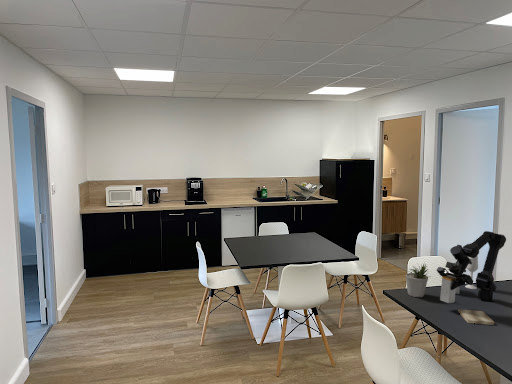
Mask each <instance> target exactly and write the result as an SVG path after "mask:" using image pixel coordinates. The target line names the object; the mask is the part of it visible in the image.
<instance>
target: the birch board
mask: <svg viewBox="0 0 512 384" xmlns="http://www.w3.org/2000/svg"><path fill="white" fill-rule="evenodd" d="M458 312H459V313H460V314H459V313H458ZM457 313H458V314H459V315H460V316H461V317H462V319H464V320H465V322H466V323H467V324H474V323H475V324H474V325H476V324H477V325H492V326H494V325H495V321H494V320H493V319H492V318H490V317H489V316H488V315H487V313H486V312H484V310H476V309H475V310H473V309H458V310H457Z"/></svg>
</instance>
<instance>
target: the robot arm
mask: <svg viewBox="0 0 512 384" xmlns="http://www.w3.org/2000/svg"><path fill="white" fill-rule="evenodd" d="M505 243H507V237H506V236H505V235H504V234H500V233H495V232H493V231H488V230H485V231H483V233H482V234H481V235H480V236H479V237H478V238H476V239H475V240H474V241H473V242H471V243H467V244H465V245H463V246H462V245H461V244H457V245H455V246H453V247H451V248H450V250H449V252H450V253H451V255H452V257H454V259H455V261H456V262H450V261H446V263H445V267H442V266H438V267H437V268H436V272H437V273H438V275H440V277H441V278H442V277H443V276H452V277H455V278H456V281H455V282H454V284H453V285H452V287H451V290H453V289H455V288H457V287H459V286H460V287H461V286H464V285H465V286H466V285H474V280H473V278H471V274H467V273H466V272H467V270H466V269H467V266H468V264H472V262H471V259H469V257H471V258H475V257H476V256H477V255H479V254H480V250H481V249H482V248H483V247H484V246H486V245H487V244H488V251H487V254H486V258H485V261H484V265H483V267H482V268H483V269H482V271H480V272H478V273H477V274H476V278H475V287H477V289H478V291H477V298H478V299H479V300H480V301H482V302H494V299H493V296H494V292H495V291H496V290H497V286H496V284H495V283H494V281H495V278H494V276H493V272H494V269H495V265H496V262H497V258H498V255H499V252H500V250H501V249H502V248H503V247H504V246H505ZM446 268H447V269H448V270H447V269H446Z"/></svg>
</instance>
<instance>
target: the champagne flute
mask: <svg viewBox="0 0 512 384" xmlns="http://www.w3.org/2000/svg"><path fill="white" fill-rule="evenodd" d="M478 255H479V254H478ZM478 255H477V256H476V257H475V258H471V257H469V259H471V262H472V264H468V266H467V268H466V269H467V270H468V272H469V273H470V277H471V278H472V279H473V278H474V273H476V271H477V270H479V256H478ZM465 288H466V289H471V290H477V289H478V288H477V286H476V285H474V284H472V285H468V284H465Z"/></svg>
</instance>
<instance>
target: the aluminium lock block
mask: <svg viewBox="0 0 512 384" xmlns="http://www.w3.org/2000/svg"><path fill="white" fill-rule="evenodd" d="M455 281H456V278H454V277H450V276H443V277H442V276H441V287H440V296H439V300H440V301H442V302H443V303H447V304H452V303H455V302H456V301H455V299H456V294H455V291H456V288H455V289H453V290H451V287H452V285H453V284H454V282H455Z"/></svg>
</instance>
